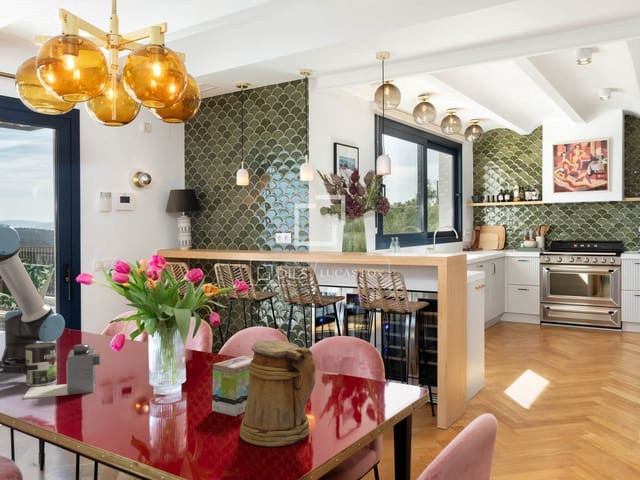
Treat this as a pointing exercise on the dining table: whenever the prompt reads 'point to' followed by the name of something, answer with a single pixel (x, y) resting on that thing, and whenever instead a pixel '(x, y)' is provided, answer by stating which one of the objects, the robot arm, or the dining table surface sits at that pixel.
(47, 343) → the coffee can
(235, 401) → the tea box
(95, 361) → the motor block
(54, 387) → the mount pad
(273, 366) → the tankard
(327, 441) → the dining table surface
